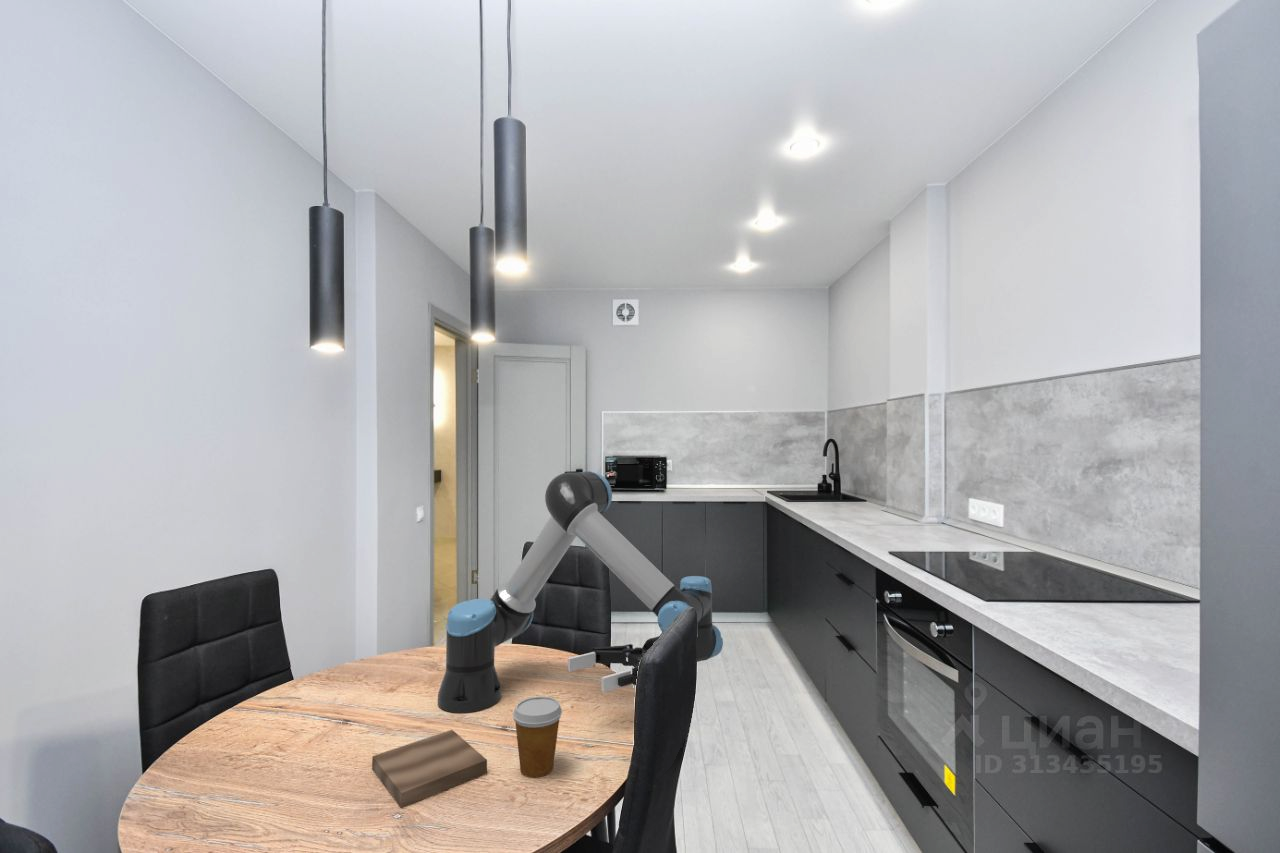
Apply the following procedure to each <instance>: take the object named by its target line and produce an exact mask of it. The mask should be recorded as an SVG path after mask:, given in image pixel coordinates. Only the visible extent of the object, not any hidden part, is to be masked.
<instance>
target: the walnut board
mask: <svg viewBox="0 0 1280 853" xmlns="http://www.w3.org/2000/svg"><path fill="white" fill-rule="evenodd" d="M371 758H372V760H371V762H372V763H371V770H372V771H373V773H374V774H375V775H376V777H377V778H378V779H379V781H380V782H381V784H382V785H383V786H384V787H385V789H386V791H388V792H389V795H390V796H392V798H393V799H394V801H395V802H396V803H397V805H398V806H399V807H400V808H405V807H407V806H409V805H412V804H415V803H417V802H420V801H423V800H424V799H427V798H429V797H432V796H435V795H437V794H440V793H442V792H444V791H446V790H449V789H452V788H454V787H456V786H459V785H462V784H464V783H467V782H470V781H472V780H474V779H476V778H479V777H481V776H484V775H486V774H487V773H488V759H487V758H486V757H484V756H483V755H482V754H481V753H480V752H478V750H476V749H475V748H474V747H473V746H472V745H471V744H470V743H468V742H467V740H465V739H464V738H462V736H460V735H459V734H458V733H457V732H456V731H455V730H453V729H449V730H447V731H444V732H441V733H438V734H435V735H432V736H428V737H426V738H422V739H420V740H417V741H414V742H411V743H407V744H405V745H402V746H399V747H396V748H392V749H390V750H386V751H383V752H381V753H378V754H376V755H372V757H371Z"/></svg>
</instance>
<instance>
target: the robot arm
mask: <svg viewBox="0 0 1280 853" xmlns="http://www.w3.org/2000/svg"><path fill="white" fill-rule="evenodd" d="M544 499H545V500H544V501H545V506H546V508H547V510H548V513H549V514H550V517H549V519H548V520H547V522H546V523H545V524H544V527H542V530H541V531H540V532H539V534H538V536H537V537H536V539H535V541H533V544H532V545H531V547H530V548H529V549H528V551H527V552H526V554H525V556H524V557H523V559H522V560H521V562H520V564H519V565H518V567H517V568H516V570H515V571H514V572H513V574H512V576H511V577H510V578H509V580H508V581H505V582H502V583H500V584H499V585H498V587H497V589H495V591H494V593H493V595H492V596H491V597H490V599H487V598H474V599H473V598H472V599H471V600H464V601H462V602H459V603H457V604H455V605H454V606H452V608H450V610H449V611H448V614H447V622H446V625H445V626H446V627H445V630H446V652H445V653H446V655H445V656H446V657H445V658H446V659H445V661H446V662H445V663H446V664H445V672H444V676H443V678H442V681H441V684H440V687H439V690H438V694H437V705H438V707H439V708H440V709H441V710H443V711H445V712H450V713H472V712H473V713H474V712H478V711H482V710H485V709H489V708H490V707H491V706H494V705H495V704H497V703H498V702H500V699H501V697H502V688H501V687H502V686H501V682H500V681H499V680H500V679H499V676H498V674H497V671H496V670H497V669H496V667H495V656H496V655H495V652H496V649H495V648H497V647H498V646H500V645H502V644H503V643H506V642H508V641H509V640H511V639H515V638H516V637H519V636H520V635H521V634H523V633H524V632H525V631H526V630H527V629H528V628H529V627H530V626H531V624H532V621H533V619H534V615H535V614H534V613H535V612H534V611H535V609H536V606H537V604H536V598H537V597H538V595H539V593H540V592H541V590H542V589H543V587H544V586H545V584H546V583H547V582H548V580H549V578H550V577H551V575H552V574H553V572H554V570H555V569H556V568H557V566H558V564H559V563H560V562H561V561H562V558H563V557H564V556H565V554H566V553H567V551H568V550H569V548H570V547H571V545H572V544H573V542H574V541H575V539H576V538H578V539H579V540H580V541H581V542H582V544H584V545H585V546H586V547H587V548H588V549H589V550H590V551H591V552H592V553H593V554H594V555H595V556H596V557H597V558H598V559H599V560H600V561H601V562H602V563H603V564H604V565H605V566H606V567H607V568H608V569H609V570H610V571H611V572H612V573H613V574H614V575H615V576H616V577H617V578H618V579H619V580H620V581H621V582H622V583H623V584H624V585H626V587H627V588H628V589H629V590H630V591H631V592H632V593H633V594H634V595H636V597H637V598H638V599H639V600H640V601H642V603H643V604H644V605H645V606H646V607H647V608H648V609H649V610H650V611H651V612H652V613H653V614H654V615H655V616H656V617H657V624H658V627H659V629H660V632H661V633H663V632H664V631H665V629H666V628H667V627H668V626H669V625H670V624H671V623H672V622H673V621H674V619H675V618H676V617H677V616H678V615H679V614H680V613H681V612H682V611H684V610H685V609H687V608H689V607H694V608H695V610H696V613H697V621H698V637H697V662H696V663H698V662H702V661H703V662H704V661H707V660H709V659H711V658H714V657H717V656H718V655H719V654H720V653H721V652H722V650H723V646H724V639H723V637H722V635H721V634H722V633H721V630H719V628H718V627H717V625H714V624H713V598H712V597H713V596H712V595H713V591H712V590H713V589H712V588H713V587H712V581H711V579H710V578H708V577H705V576H700V575H691V576H689V575H688V576H685V577H682V578H681V580H680V587H679V588H678V587H676V585H674V583H673V582H672V581H671V580H670V579H668V578H667V577H666V575H664V574H663V573H662V572H661V570H659V569H658V568H657V567H656V566H655V565H654V564H653V563H652V562H651V561H650V560H649V559H648V558H647V557H646V556H645V555H644V554H643V553H642V552H641V551H639V549H638V548H636V547H635V545H633V544H632V542H630V540H628V539H627V538H626V537H625V536H624V535H623V534H622V533H621V532H620V530H618V529H617V528H615V526H614V525H613V524H612V523H610V522H609V520H608V519H606V518H605V517H604V516H603V513H604V512H606V511H607V510H608V509H609V507H610V506H611V503H612V501H613V500H612V499H613V491H612V487H611V485H610V482H609V481H608V480H607V478H606V477H605V476H603V475H602V474H601V473H597V472H594V471H591V470H590V471H589V470H586V471H581V472H580V471H579V472H563V473H560V474H558V475H557V476H555V477H553V479H552V480H551V481H550V482H549V484H548V485H547V487H546V490H545V495H544ZM684 613H685V612H684ZM660 636H661V635H659V636H655V637H651V638H648V639H647V640H646V641H645V642H644V644H643V646H642V647H634V644H632V643H629V644H624V645H613V646H610V645H609V646H599V647H591V648H590V652H588V653H584V654H579V655H576V656H571V657H568V658H567V671H568V672H569V673H570V672H571V673H572V672H576V671H579V670H582V669H587V668H590V667H593V668H594V667H595V666H596V664H621V665H622V666H624V667H632V668H631V669H627V670H623V671H619V672H615V673H613V674H609V675H605V676H602V677H601V692H602V693H607V692H611V691H613V690H618V689H620V688H624V687H627V686H630V685H633V686H637V685H636V679H637V671H638V666H639V662H640V660H641V658H642V657H643V655H644V654H645V653H646V652H647V650H648V649H649V648H650V647H651V646H652V645H653V643H654V642H655V641H656V640H657V639H658V638H659V637H660Z"/></svg>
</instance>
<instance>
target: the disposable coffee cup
mask: <svg viewBox="0 0 1280 853" xmlns="http://www.w3.org/2000/svg"><path fill="white" fill-rule="evenodd" d="M562 714H563V708H562V707H561V703H560V701H559V700H557V699H556V698H553V697H550V696H532V697H528V698H525V699H523V700H521V701H519V702H518V703H516V705H515V708H514V710H513V713H512V718H513V721H514V722H515V723H514V724H515V731H516V742H517V750H518V758H519V759H518V760H519V767H520V768H519V769H520V773H521V775H523V776H525V777H527V778H532V779H533V778H543V777H544V776H547V775H549V774H550V773H551V772H552V771H553V769H554V764H555V763H554V762H555V756H556V747H557V742H558V740H557V739H558V734H559V733H558V732H559V724H560V719H561V717H562V716H561V715H562Z"/></svg>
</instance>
